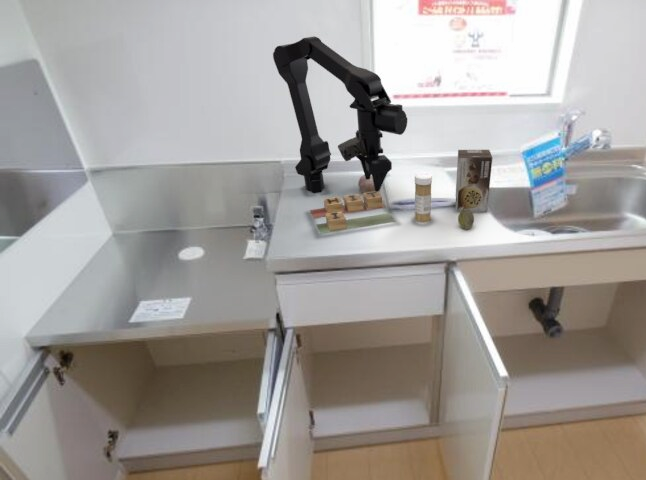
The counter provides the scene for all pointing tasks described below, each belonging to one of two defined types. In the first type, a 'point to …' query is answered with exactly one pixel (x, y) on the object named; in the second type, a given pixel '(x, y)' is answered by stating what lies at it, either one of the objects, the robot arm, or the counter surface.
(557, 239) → the counter surface
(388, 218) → the letter board
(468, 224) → the lime
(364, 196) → the tile
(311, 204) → the counter surface
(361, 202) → the tile
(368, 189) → the garlic bulb
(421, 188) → the sprinkles bottle
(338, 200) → the tile
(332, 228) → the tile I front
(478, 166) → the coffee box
